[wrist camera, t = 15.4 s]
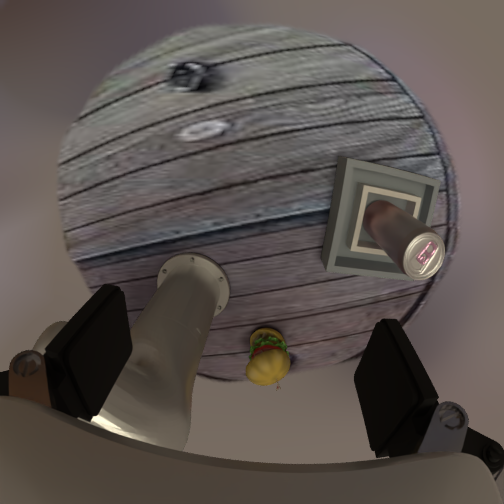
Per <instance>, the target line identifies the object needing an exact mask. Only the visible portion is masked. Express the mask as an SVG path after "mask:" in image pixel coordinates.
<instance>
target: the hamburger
mask: <svg viewBox="0 0 504 504" xmlns="http://www.w3.org/2000/svg"><path fill="white" fill-rule="evenodd" d="M250 345H251V347H250V353H251V355H250V356H249V359H250V362H249V363H248V365H247V366H246V376H247V378H248V379H249V380H250V381H251V382H252V383H254V384H257V385H262V386H265V385H271V384H274V383H276V382H277V383H278V381H279V380H281V379H282V378H284V376H285V375H286V374H287V372H288V371H289V368H290V358H289V354H288V351H286V349H287V345H286V343H285V340H284V338H283V336H282V335H281V334H280V333H279V332H277V331H276V330H274V329H271V328H261V329H258V330H256V331H255V332H254V333H253V334H252V335H251V337H250ZM279 389H281V388H280V386H279V384H277V388H276V391H277V390H279Z"/></svg>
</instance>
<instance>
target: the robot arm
mask: <svg viewBox="0 0 504 504" xmlns="http://www.w3.org/2000/svg"><path fill="white" fill-rule="evenodd" d="M192 257H193V258H194V259H193V258H192ZM165 269H166V270H165ZM221 277H223V278H221ZM157 288H158V289H157V291H156V292H155V294H154V295H153V297H152V298H151V300H150V301H149V303H148V304H147V305H146V307H145V308H144V310H143V311H142V313H141V314H140V316H139V317H138V319H137V320H136V322H135V324H134V325H133V326H132V328H131V330H130V328H129V322H128V316H127V309H126V302H125V295H124V292H123V291H121V289H120V287H118V286H114V285H109V284H104V285H103V286H102V287H101V288H100V289H99V290H98V291H97V292H96V293H95V294H94V295H93V296H92V297H91V298H90V299H89V300H88V301H87V302H86V303H85V304H84V305H83V307H82V308H81V309H80V310H79V311H78V312H77V313H76V314H75V315H74V316H73V317H72V318H71V319H70V320H69V322H66V321H59V322H55V323H53V324H52V325H50V326H49V327H48V328H46V330H45V331H44V332H43V333H42V334H41V335H40V337H39V339H38V340H37V342H36V343H35V345H34V347H33V349H32V350H25V351H22V352H20V353H18V354H17V355H16V356H15V357H13V359H12V360H11V362H10V366H9V370H7V371H3V372H0V504H504V450H503V448H502V446H501V445H500V444H499V443H497V442H496V441H494V440H492V439H490V438H488V437H486V436H484V435H482V434H480V433H479V432H477V431H475V430H473V429H471V428H469V427H468V423H469V419H468V415H467V413H466V412H465V410H464V409H463V408H462V407H461V406H460V405H458V404H457V403H454V402H450V401H445V402H442V403H440V404H439V403H438V401H437V399H438V398H439V396H438V394H437V392H436V390H435V388H434V386H433V384H432V382H431V380H430V378H429V376H428V374H427V372H426V370H425V368H424V366H423V365H422V363H421V361H420V359H419V357H418V355H417V354H416V351H415V350H414V348H413V346H412V344H411V342H410V341H409V339H408V337H407V335H406V334H405V332H404V330H403V328H402V327H401V325H400V323H399V321H398V320H397V319H384V318H383V319H382V320H381V321H380V322H377V323H376V325H375V327H374V330H373V332H372V335H371V337H370V340H369V342H368V344H367V347H366V349H365V351H364V354H363V356H362V358H361V360H360V363H359V365H358V367H357V369H356V371H355V374H354V383H355V387H356V390H357V394H358V398H359V402H360V405H361V410H362V414H363V418H364V422H365V426H366V430H367V435H368V439H369V444H370V448H371V450H372V451H375V455H376V458H380V457H386V456H389V457H390V458H385V459H377V460H368V461H357V462H346V463H330V464H278V463H261V462H249V461H239V460H231V459H223V458H216V457H209V456H204V455H198V454H193V453H188V452H183V451H182V450H183V449H184V447H185V445H186V443H187V440H188V435H189V432H190V425H191V406H192V392H193V386H194V381H195V377H196V373H197V370H198V366H199V363H200V359H201V356H202V353H203V350H204V346H205V343H206V340H207V336H208V333H209V330H210V327H211V323H212V320H213V317H215V316H217V315H218V314H219V313H221V312H222V311H223V309H224V308H225V307H226V305H227V303H228V300H229V296H230V285H229V281H228V278H227V276H226V274H225V272H224V271H223V269H222V268H221V267H220V266H219V265H218V264H217V263H216V262H214V261H213V260H211V259H210V258H208V257H206V256H203V255H200V254H196V253H182V254H178V255H176V256H173V257H171V258H170V259H169V260H167V261H166V263H165V264H164V265H163V266H162V268H161V269H160V271H159V274H158V278H157ZM219 305H220V306H219Z"/></svg>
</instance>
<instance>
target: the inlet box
mask: <svg viewBox="0 0 504 504" xmlns="http://www.w3.org/2000/svg"><path fill="white" fill-rule="evenodd" d="M439 187H440V181H439V180H436V179H433V178H430V177H426V176H423V175H419V174H415V173H412V172H408V171H404V170H400V169H396V168H392V167H388V166H384V165H380V164H376V163H371V162H367V161H362V160H357V159H352V158H347V157H342V156H339V157H338V163H337V170H336V177H335V183H334V189H333V195H332V201H331V207H330V212H329V218H328V223H327V228H326V234H325V239H324V244H323V249H322V254H321V260H322V262H323V265H324V267H325V270H326V272H335V273H344V274H353V275H362V276H371V277H380V278H390V279H399V280H409V281H414V279H412V278H410V277H409V276H407V275H405V274H404V273H403V272H402V271H401V270H400V269H399V267H398V266H397V265H396V264H395V263H394V262H393V261H392V259H391V258H390V257H389V256H388V255H387V254H386V253H385V252H384V251H383V249H382V248H381V247H380V246H379V245H378V244H377V243H376V242H375V241H374V240H373V239H372V238H371V236H370V235H369V234H368V233H367V232H366V231H365V229H364V226H363V216H364V213H365V211H366V209H367V208H368V207H369V205H371V204H372V203H373V202H376V201H379V200H385V201H388V202H390V203H392V204H394V205H395V206H397V207H398V208H400V209H402V210H403V211H405V212H407V213H408V214H410V215H411V216H413V217H415V218H416V219H418V220H419V221H421V222H422V223H424V224H425V225H427V226H428V227H430V225H431V222H432V217H433V213H434V209H435V205H436V200H437V195H438V191H439Z"/></svg>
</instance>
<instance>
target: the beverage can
mask: <svg viewBox="0 0 504 504" xmlns="http://www.w3.org/2000/svg"><path fill="white" fill-rule="evenodd" d="M363 226H364V229H365V231H366V232H367V233H368V234H369V235H370V236H371V238H372V239H373V240H374V241H375V242H376V243H377V244H378V245H379V246H380V247H381V248H382V249H383V251H384V252H385V253H386V254H387V255H388V256H389V257H390V258H391V259H392V261H393V262H394V263H395V264H396V265H397V266H398V267H399V269H400V270H401V271H402V272H403V273H404V274H405V275H407V276H409V277H410V278H412V279H414V280H424V279H427V278H429V277H431V276H432V275H434V274H435V273H436V272H437V271H438V269H439V268H440V266H441V265H442V262H443V260H444V256H445V246H444V243H443V241H442V239H441V238H440V236H439V235H438V234H437V233H436V232H435V231H434V230H433V229H431V228H430V227H428V226H427V225H425V224H424V223H422V222H421V221H419V220H418V219H416V218H415V217H413V216H411V215H410V214H408V213H407V212H405V211H403V210H402V209H400V208H398V207H397V206H395V205H394V204H392V203H390V202H388V201H385V200H379V201H376V202H373V203H372V204H371V205H369V207H368V208H367V209H366V211H365V213H364V216H363Z"/></svg>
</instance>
